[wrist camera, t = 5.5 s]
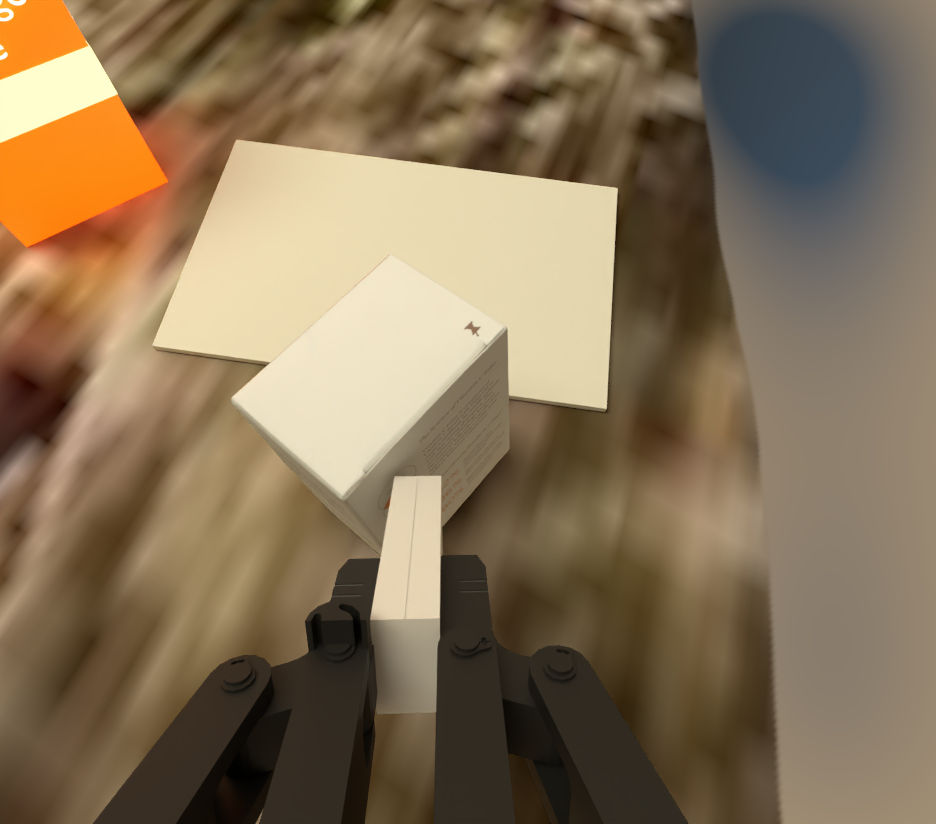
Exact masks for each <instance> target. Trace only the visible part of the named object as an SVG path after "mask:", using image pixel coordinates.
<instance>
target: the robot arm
mask: <svg viewBox="0 0 936 824" xmlns="http://www.w3.org/2000/svg"><path fill="white" fill-rule="evenodd" d="M442 552H443V546H442V488H441V476H395V477H394V482H393V488H392V494H391V500H390V506H389V512H388V517H387V523H386V529H385V535H384V541H383V547H382V553H381V558H372V559H349V560H348V561H347V562H346V563H345V564H344V565H343V566H342V568H341V569H340V570H339V571H338V575H337V578H336V582H335V587H334V589H333V593H332V597H331V600H330V602H328V603H325V604H323V605H321V606H318V607H317V608H316V609H314V610H313V611H312V612H311V613H310V614H309V615H308V617H307V619H306V620H305V625H306V633H307V641H308V648H309V652H308V653H307V654H306V655H304V656H302V657H301V658H299V659H297V660H294V661H291V662H288V663H285V664H281V665H278V666H274V667H270V664H269V663H268V662H267V661H266V660H265V659H264V658H261V657H258V656H256V655H243V656H239V657H236V658H232V659H230V660H228V661H226V662H224V663H222V664H220V665H219V666H218V667H217V668H216V669H215V670H214V671H213V672H212V673H211V674H210V675H209V676H208V677H207V679H206V680H205V681H204V682H203V684H202V685H201V686H200V687H199V689H198V690H197V691H196V693H195V694H194V695H193V696H192V698H191V699H190V700H189V702H188V703H187V704H186V705H185V707H184V708H183V709H182V710H181V712H180V713H179V714H178V716H177V717H176V718H175V719H174V721H173V722H172V723H171V724H170V726H169V727H168V728H167V730H166V731H165V732H164V733H163V735H162V736H161V737H160V739H159V740H158V741H157V742H156V744H155V745H154V746H153V747H152V749H151V750H150V751H149V753H148V754H147V755H146V756H145V758H144V759H143V760H142V761H141V763H140V764H139V765H138V767H137V768H136V769H135V770H134V772H133V773H132V774H131V775H130V777H129V778H128V779H127V781H126V782H125V783H124V784H123V786H122V787H121V788H120V790H119V791H118V792H117V793H116V795H115V796H114V797H113V798H112V800H111V801H110V802H109V804H108V805H107V806H106V807H105V809H104V810H103V811H102V812H101V814H100V815H99V816H98V818H97V819H96V820H95V821H94V823H93V824H255V823H256V821H257V819H258V817H259V816H260V814H261V812H262V810H263V812H262V816H261V819H260V823H259V824H365V816H366V807H367V799H368V791H369V783H370V775H371V767H372V758H373V750H374V742H375V725H374V716H375V708H376V707H377V714H400V713H433V712H436V744H435V796H434V824H515V815H514V805H513V796H512V787H511V778H510V768H509V759H508V753H510V754H514V755H517V756H521V757H524V758H526V764H527V766H528V768H529V771H530V773H531V776H532V778H533V781H534V783H535V786H536V788H537V791H538V793H539V796H540V798H541V801H542V803H543V806H544V808H545V811H546V813H547V815H548V818H549V820H550V823H551V824H688V822H687V820H686V819H685V817H684V816H683V814H682V812H681V811H680V809H679V807H678V806H677V804H676V803H675V801H674V799H673V798H672V796H671V795H670V793H669V791H668V790H667V788H666V786H665V785H664V783H663V782H662V780H661V778H660V777H659V775H658V774H657V772H656V770H655V769H654V767H653V765H652V764H651V762H650V761H649V759H648V757H647V756H646V754H645V753H644V751H643V749H642V748H641V746H640V744H639V743H638V741H637V740H636V738H635V736H634V735H633V733H632V732H631V730H630V728H629V727H628V725H627V723H626V722H625V720H624V719H623V717H622V715H621V714H620V712H619V711H618V709H617V707H616V706H615V704H614V702H613V701H612V699H611V698H610V696H609V694H608V693H607V691H606V690H605V688H604V686H603V685H602V683H601V681H600V680H599V678H598V677H597V675H596V673H595V672H594V670H593V669H592V667H591V665H590V664H589V662H588V661H587V660H586V659H585V658H584V656H583V655H582V654H581V653H579V652H577V651H575V650H573V649H572V648H568V647H564V646H560V645H558V646H547V647H544V648H542V649H539V650H538V651H537V652H536V653H535V654H534V655H533V656H532V657H527V656H522V655H519V654H516V653H513V652H510V651H509V650H507V649H505V648H503V647H502V646H501V645H500V644H499V643H498V642H497V640H496V639H495V637H494V635H493V631H492V623H491V614H490V605H489V595H488V586H487V576H486V567H485V565H484V564H483V563H482V561H481V560H480V559H479V557H478V556H477V555H455V556H442ZM263 808H264V809H263Z"/></svg>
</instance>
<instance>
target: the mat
mask: <svg viewBox="0 0 936 824" xmlns="http://www.w3.org/2000/svg"><path fill="white" fill-rule="evenodd" d="M617 190H618V188H612V187H605V186H597V185H589V184H581V183H573V182H565V181H557V180H550V179H542V178H534V177H526V176H518V175H510V174H502V173H494V172H487V171H479V170H471V169H463V168H455V167H447V166H439V165H432V164H424V163H416V162H408V161H400V160H392V159H384V158H377V157H369V156H361V155H353V154H345V153H337V152H329V151H322V150H314V149H306V148H298V147H290V146H282V145H274V144H266V143H259V142H251V141H243V140H236V142H235V144H234V147H233V149H232V152H231V154H230V157H229V159H228V161H227V164H226V166H225V169H224V171H223V174H222V176H221V179H220V181H219V183H218V186H217V188H216V191H215V193H214V196H213V198H212V201H211V203H210V205H209V208H208V210H207V213H206V215H205V218H204V220H203V223H202V225H201V227H200V230H199V232H198V235H197V237H196V240H195V242H194V245H193V247H192V249H191V252H190V254H189V257H188V259H187V262H186V264H185V267H184V269H183V271H182V274H181V276H180V279H179V281H178V284H177V286H176V289H175V291H174V294H173V296H172V298H171V301H170V303H169V306H168V308H167V311H166V313H165V316H164V318H163V320H162V323H161V325H160V328H159V330H158V333H157V335H156V338H155V340H154V342H153V345H152V346H153V347H154V348H155V349H156V350H162V351H169V352H176V353H184V354H191V355H198V356H205V357H212V358H220V359H227V360H234V361H241V362H248V363H256V364H263V365H268V364H269V363H270V362H271V361H272V360H274V359H275V358H276V357H277V356H278V355H279V354H280V353H281V352H283V351H284V350H285V349H286V348H287V347H288V346H289V345H290V344H291V343H293V342H294V341H295V340H296V339H297V338H298V337H299V336H300V335H301V334H303V333H304V332H305V331H306V330H307V329H308V328H309V327H310V326H311V325H312V324H314V323H315V322H316V321H317V320H318V319H319V318H320V317H321V316H323V315H324V314H325V313H326V312H327V311H328V310H329V309H330V308H331V307H332V306H333V305H335V304H336V303H337V302H338V301H339V300H340V299H341V298H342V297H343V296H344V295H346V294H347V293H348V292H349V291H350V290H351V289H352V288H353V287H354V286H355V285H356V284H358V283H359V282H360V281H361V280H362V279H363V278H364V277H365V276H367V275H368V274H369V273H370V272H371V271H372V270H373V269H374V268H375V267H376V266H378V265H379V264H380V263H381V262H382V261H383V260H384V259H385V258H386V257H387V256H388V255H389V254H392V255H394V256H395V257H397V258H398V259H400V260H402V261H403V262H405V263H407V264H408V265H410V266H412V267H413V268H415V269H416V270H418V271H420V272H421V273H423V274H424V275H426V276H427V277H429V278H431V279H432V280H434V281H435V282H437V283H438V284H440V285H442V286H443V287H445V288H446V289H448V290H450V291H451V292H453V293H454V294H456V295H458V296H459V297H461V298H462V299H464V300H465V301H467V302H469V303H470V304H472V305H473V306H475V307H476V308H478V309H480V310H481V311H483V312H484V313H486V314H487V315H489V316H490V317H492V318H494V319H495V320H497V321H498V322H500V323H501V324H503V325H505V326H506V327H507V329H508V380H509V399H515V400H522V401H529V402H537V403H544V404H551V405H558V406H565V407H573V408H580V409H587V410H594V411H601V412H605V411H606V409H607V391H608V371H609V351H610V331H611V311H612V291H613V271H614V250H615V230H616V210H617Z"/></svg>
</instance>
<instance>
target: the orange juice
mask: <svg viewBox="0 0 936 824" xmlns="http://www.w3.org/2000/svg"><path fill="white" fill-rule="evenodd" d="M117 94H118V93H117V92H116V90H115V88H114V87H113V85H112V83H111V81H110V80H109V78H108V76H107V75H106V73H105V71H104V69H103V68H102V66H101V64H100V63H99V61H98V59H97V57H96V56H95V54H94V52H93V51H92V49H91V47H90V46H89V44H88V43H87V41H86V40H85V39H84V37H83V35H82V34H81V32H80V30H79V29H78V27H77V25H76V23H75V22H74V19H73V18H72V16H71V15H70V13H69V11H68V10H67V8H66V6H65V5H64V3H63V1H62V0H0V221H1V222H2V223H3V224H4V225H5V226H6V227H7V228H8V229H9V230H10V231H11V232H12V233H13V234H14V235H15V236H16V237H17V238H18V239H19V240H20V241H21V242H22V243H23V244H24V245H25V246H26V247H29V246H31V245H33V244H35V243H37V242H39V241H42V240H44V239H46V238H48V237H50V236H52V235H55V234H57V233H59V232H61V231H63V230H65V229H67V228H70V227H72V226H74V225H76V224H78V223H80V222H83V221H85V220H87V219H89V218H91V217H93V216H95V215H98V214H100V213H102V212H104V211H106V210H108V209H111V208H113V207H115V206H117V205H119V204H121V203H123V202H126V201H128V200H130V199H132V198H134V197H136V196H139V195H141V194H143V193H145V192H147V191H149V190H151V189H154V188H156V187H158V186H160V185H162V184H164V183H167V182H168V180H167V179H166V177H165V175H164V174H163V172H162V170H161V168H160V167H159V165H158V163H157V162H156V160H155V158H154V157H153V155H152V153H151V151H150V150H149V148H148V146H147V145H146V143H145V141H144V139H143V138H142V136H141V134H140V133H139V131H138V129H137V128H136V126H135V124H134V122H133V121H132V119H131V117H130V116H129V114H128V112H127V110H126V109H125V107H124V105H123V104H122V102H121V100H120V99H119V97H118V95H117Z"/></svg>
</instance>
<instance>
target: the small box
mask: <svg viewBox="0 0 936 824" xmlns="http://www.w3.org/2000/svg"><path fill="white" fill-rule="evenodd" d="M231 402H232V404H233V406H234V407H235V408H236V409H237V410H238V411H239V412H240V413H241V415H242V416H243V417H244V418H245V419H246V420H247V421H248V422H249V423H250V424H251V426H252V427H253V428H254V429H255V430H256V431H257V432H258V433H259V434H260V435H261V436H262V438H263V439H264V440H265V441H266V442H267V443H268V444H269V445H270V446H271V448H272V449H273V450H274V451H275V452H276V453H277V454H278V456H279V457H280V458H281V459H282V460H283V462H284V463H285V464H286V465H287V466H288V467H289V468H290V469H291V470H292V471H293V472H294V473H295V474H296V475H297V476H298V477H299V478H300V479H301V481H302V482H303V483H304V484H305V485H306V486H307V487H308V488H309V489H310V491H311V492H312V493H313V494H314V495H315V496H316V497H317V498H318V499H319V500H320V501H321V502H322V503H323V504H324V505H325V506H326V507H327V508H328V509H329V510H330V511H331V512H332V513H333V514H334V515H335V516H336V517H338V518H339V519H340V520H341V521H342V522H343V523H344V524H345V525H346V526H348V527H349V528H350V529H351V530H352V531H353V532H354V533H355V534H357V535H358V536H359V537H360V538H361V539H362V540H363V541H364V542H366V543H367V544H368V545H369V546H370V547H371V548H373V549H374V550H375V551H376V552H377V553H378V554H379V555H381V553H382V547H383V541H384V535H385V529H386V523H387V517H388V512H389V506H390V500H391V494H392V488H393V482H394V477H395V476H441V488H442V527H443V526H444V525H445V523H446V522H447V521H448V520H449V519H450V518H451V516H452V515H453V514H454V513H455V512H456V511H457V509H458V508H459V507H460V506H461V505H462V504H463V502H464V501H465V500H466V499H467V498H468V497H469V496H470V494H471V493H472V492H473V491H474V490H475V489H476V487H477V486H478V485H479V484H480V483H481V481H482V480H483V479H484V478H485V477H486V475H487V474H488V473H489V472H490V471H491V470H492V469H493V467H494V466H495V465H496V464H497V463H498V462H499V460H500V459H501V458H502V457H503V456H504V455H505V454H506V453H507V452H508V450H509V448H510V436H509V380H508V329H507V327H506V326H505V325H503V324H501V323H500V322H498V321H497V320H495V319H494V318H492V317H490V316H489V315H487V314H486V313H484V312H483V311H481V310H480V309H478V308H476V307H475V306H473V305H472V304H470V303H469V302H467V301H465V300H464V299H462V298H461V297H459V296H458V295H456V294H454V293H453V292H451V291H450V290H448V289H446V288H445V287H443V286H442V285H440V284H438V283H437V282H435V281H434V280H432V279H431V278H429V277H427V276H426V275H424V274H423V273H421V272H420V271H418V270H416V269H415V268H413V267H412V266H410V265H408V264H407V263H405V262H403V261H402V260H400V259H398V258H397V257H395V256H394V255H392V254H389V255H388V256H387V257H386V258H385V259H384V260H383V261H382V262H381V263H380V264H379V265H378V266H376V267H375V268H374V269H373V270H372V271H371V272H370V273H369V274H368V275H367V276H365V277H364V278H363V279H362V280H361V281H360V282H359V283H358V284H356V285H355V286H354V287H353V288H352V289H351V290H350V291H349V292H348V293H347V294H346V295H344V296H343V297H342V298H341V299H340V300H339V301H338V302H337V303H336V304H335V305H333V306H332V307H331V308H330V309H329V310H328V311H327V312H326V313H325V314H324V315H323V316H321V317H320V318H319V319H318V320H317V321H316V322H315V323H314V324H312V325H311V326H310V327H309V328H308V329H307V330H306V331H305V332H304V333H303V334H301V335H300V336H299V337H298V338H297V339H296V340H295V341H294V342H293V343H291V344H290V345H289V346H288V347H287V348H286V349H285V350H284V351H283V352H281V353H280V354H279V355H278V356H277V357H276V358H275V359H274V360H272V361H271V362H270V363H269V364H268V365H267V366H266V367H265V368H264V369H263V370H261V371H260V372H259V373H258V374H257V375H256V376H255V377H254V378H253V379H251V380H250V381H249V382H248V383H247V384H246V385H245V386H244V387H242V388H241V389H240V390H239V391H238V392H237V393H236V394H234V395H233V396H232V397H231Z"/></svg>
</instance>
